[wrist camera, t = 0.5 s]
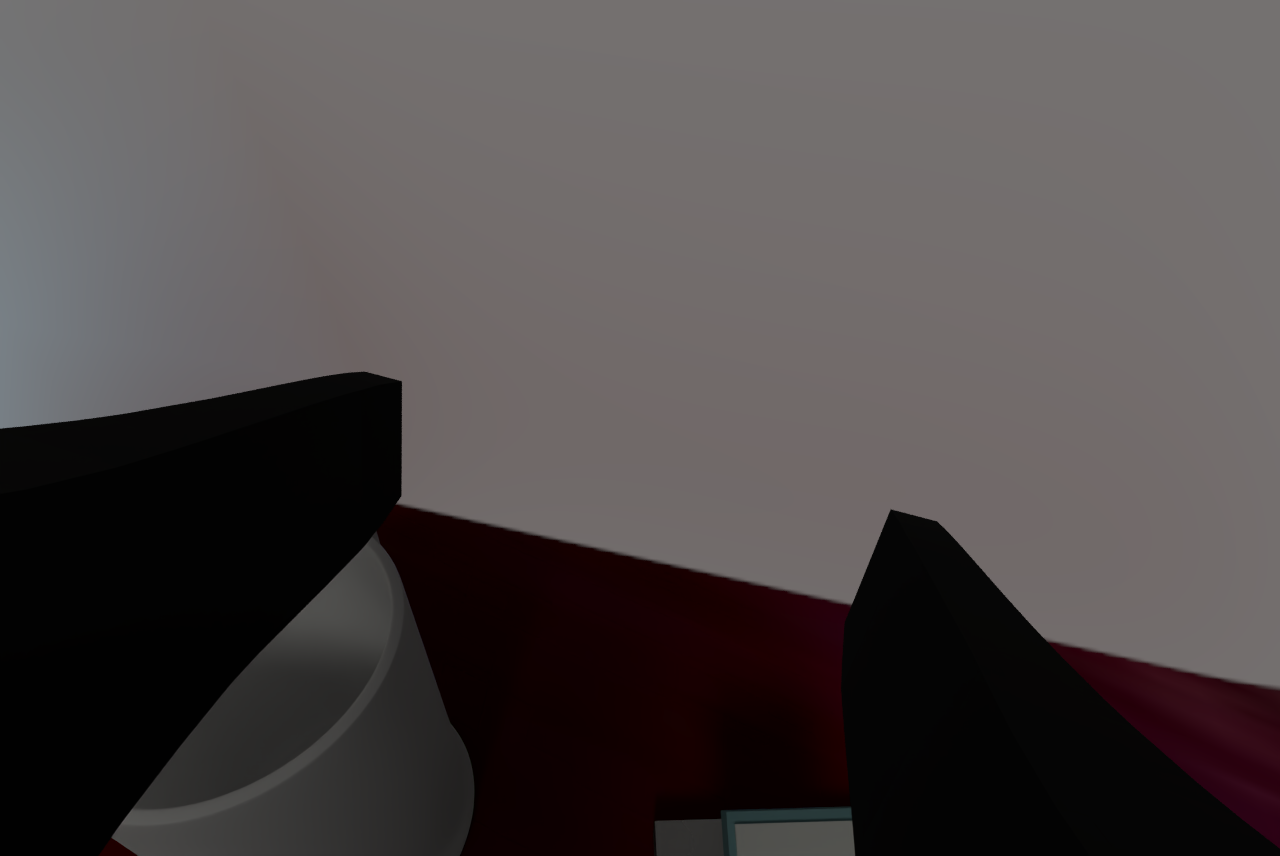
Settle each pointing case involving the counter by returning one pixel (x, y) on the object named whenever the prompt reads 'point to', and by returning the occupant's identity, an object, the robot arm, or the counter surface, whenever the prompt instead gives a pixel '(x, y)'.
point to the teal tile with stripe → (788, 832)
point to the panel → (688, 838)
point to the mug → (320, 742)
